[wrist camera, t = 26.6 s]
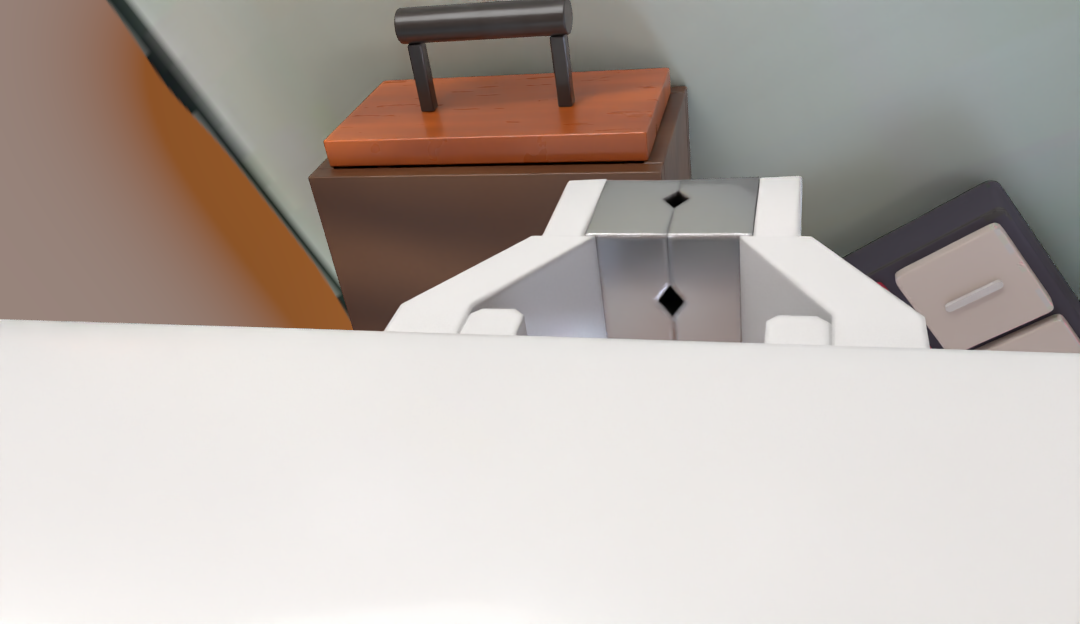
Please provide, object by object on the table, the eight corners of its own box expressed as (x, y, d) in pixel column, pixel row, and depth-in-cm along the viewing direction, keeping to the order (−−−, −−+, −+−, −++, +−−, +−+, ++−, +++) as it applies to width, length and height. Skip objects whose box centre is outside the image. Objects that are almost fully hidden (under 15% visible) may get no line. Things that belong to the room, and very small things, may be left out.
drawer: (361, -14, 41) (293, 37, 36) (663, -36, 38) (637, 16, 32) (442, 332, 52) (398, 411, 46) (685, 340, 48) (668, 427, 43)
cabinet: (384, 97, 45) (307, 177, 39) (687, 85, 41) (661, 171, 35) (444, 355, 54) (390, 457, 47) (700, 365, 50) (681, 478, 43)
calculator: (1005, 212, 37) (1180, 468, 41) (992, 169, 41) (1154, 408, 45) (771, 332, 43) (943, 546, 47) (778, 285, 47) (937, 488, 51)
